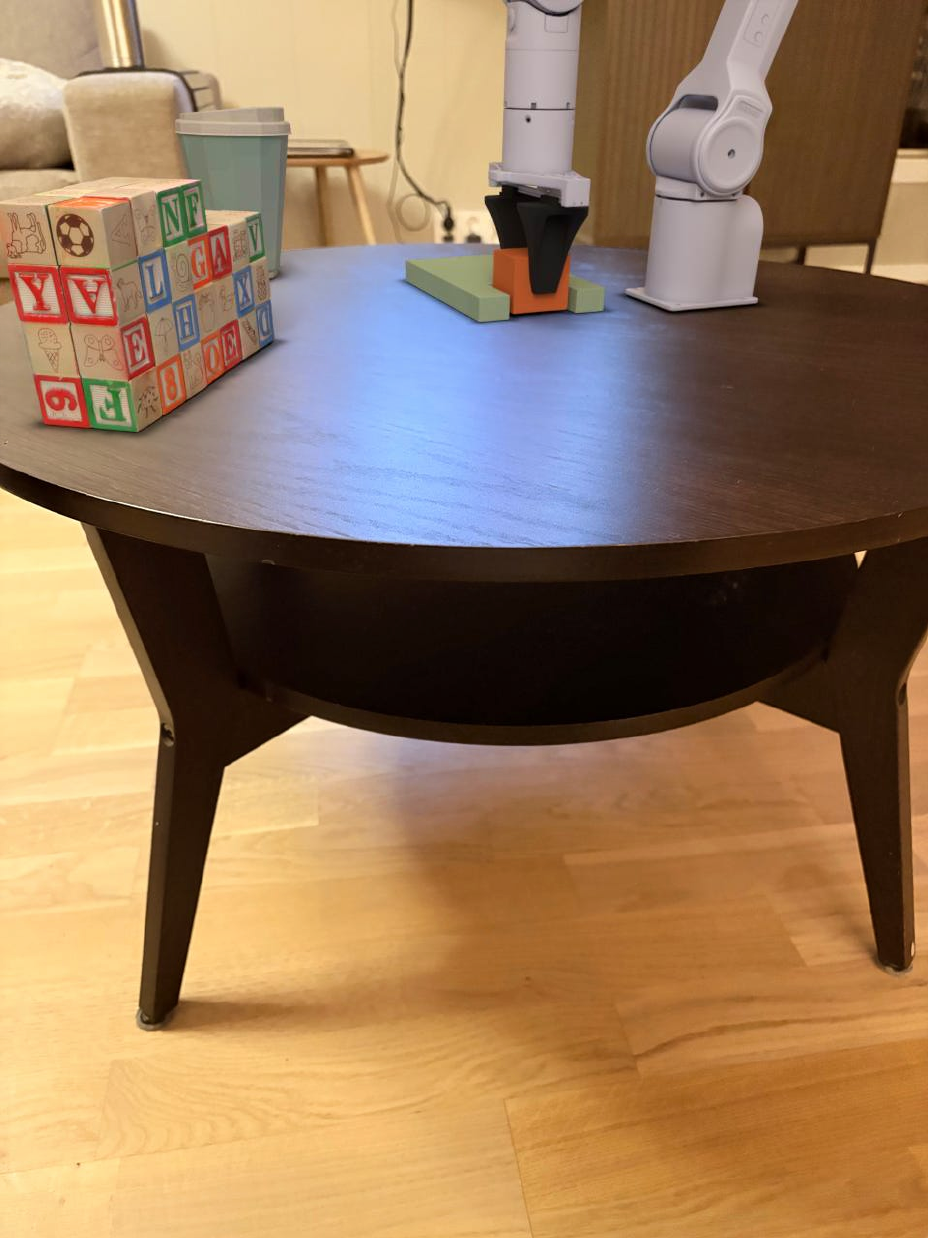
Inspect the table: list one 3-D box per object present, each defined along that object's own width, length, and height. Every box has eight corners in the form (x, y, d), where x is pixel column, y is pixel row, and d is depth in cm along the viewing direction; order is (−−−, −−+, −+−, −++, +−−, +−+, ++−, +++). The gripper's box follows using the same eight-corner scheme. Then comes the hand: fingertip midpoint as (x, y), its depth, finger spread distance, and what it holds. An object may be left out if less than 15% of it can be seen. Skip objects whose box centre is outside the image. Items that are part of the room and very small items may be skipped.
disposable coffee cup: (171, 280, 91) (145, 105, 83) (231, 262, 99) (213, 101, 92) (266, 290, 88) (249, 108, 80) (320, 269, 96) (309, 104, 88)
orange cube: (544, 298, 84) (547, 245, 82) (567, 309, 81) (571, 254, 78) (491, 303, 82) (493, 249, 80) (513, 314, 79) (515, 258, 77)
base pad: (515, 273, 96) (516, 252, 95) (603, 310, 82) (605, 287, 81) (405, 281, 92) (405, 259, 91) (479, 322, 78) (479, 297, 77)
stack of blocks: (201, 336, 73) (178, 161, 66) (276, 341, 72) (260, 164, 65) (41, 425, 55) (-11, 198, 48) (139, 433, 54) (98, 202, 47)
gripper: (457, 104, 78) (456, 274, 85) (535, 113, 67) (526, 308, 74) (532, 104, 80) (525, 269, 87) (620, 112, 69) (603, 301, 76)
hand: (530, 287), depth 81 cm, fingers closed on orange cube, 4 cm apart
